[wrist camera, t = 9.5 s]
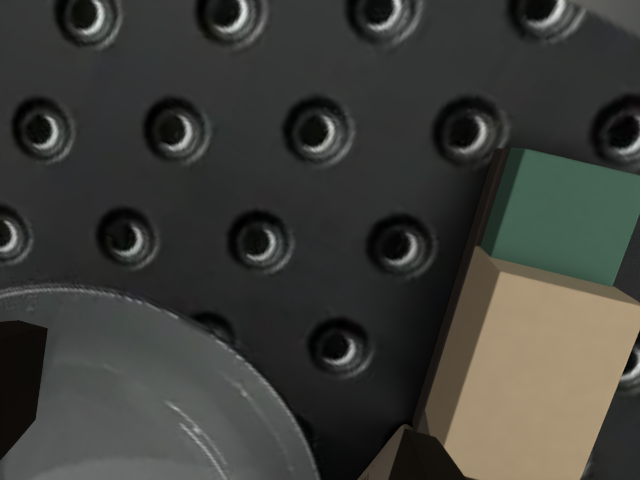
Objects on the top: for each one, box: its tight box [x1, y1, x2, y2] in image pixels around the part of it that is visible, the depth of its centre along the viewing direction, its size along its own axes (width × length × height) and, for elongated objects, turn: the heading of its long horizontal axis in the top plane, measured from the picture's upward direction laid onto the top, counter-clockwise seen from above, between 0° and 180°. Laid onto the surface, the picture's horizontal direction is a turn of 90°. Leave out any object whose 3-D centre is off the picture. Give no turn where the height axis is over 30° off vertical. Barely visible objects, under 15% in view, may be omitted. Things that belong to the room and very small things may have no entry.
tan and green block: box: [412, 148, 640, 480], centre depth 17 cm, size 11×4×5 cm, turn 167°
